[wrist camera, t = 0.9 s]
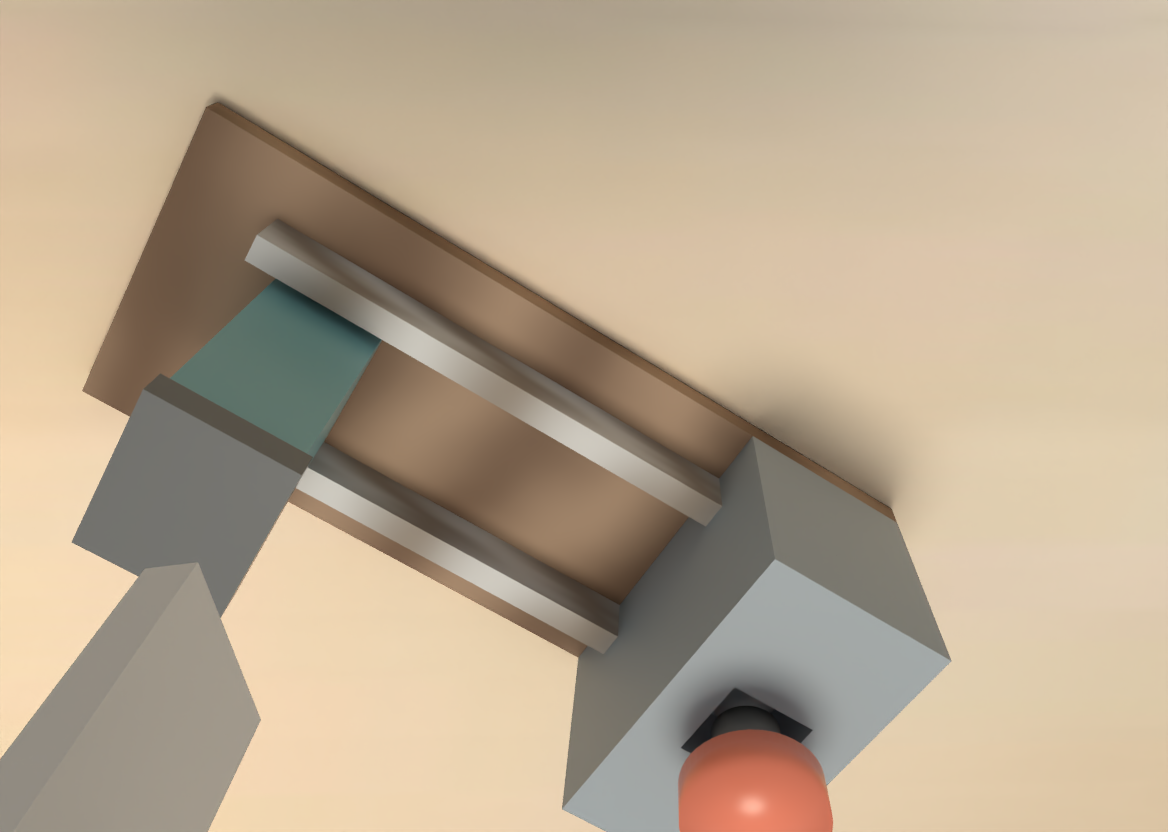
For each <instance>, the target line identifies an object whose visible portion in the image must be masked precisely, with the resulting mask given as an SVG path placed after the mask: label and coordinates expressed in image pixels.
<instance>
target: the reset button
mask: <svg viewBox="0 0 1168 832" xmlns="http://www.w3.org/2000/svg"><path fill="white" fill-rule="evenodd" d="M678 807H679V830H680V832H832V828H833V818H832V812H831V807H830V801H829V796H828V791H827V786H826V781H825V776H824V772H823V769H822V767H821V765H820V763H819V761H818V760H817V758H816V757H815V756H814V754H813V753H812V752H811V751H810V750H809V749H808V748H806V747H805V746H804V745H803V744H801V743H799V742H798V741H796V740H794V739H792V738H790V737H788V736H785V735H783V734H781V733H780V727H779V724H778V722H777V720H776V719H775V717H774V716H773V715H772V714H770V713H769V712H767V711H766V710H764V709H761V708H759V707H754V706H737V707H733V708H730V709H728V710H726V711H724V712H723V713H721V714H720V715H719V716H718V717H717V718H716V719H715V721H714V723H713V725H712V728H711V739H710V740H708V741H706V742H704V743H703V744H701V745H700V746H699V747H697V748H696V749H695V750H694V751H693V752H692V753H691V754H690V755H689V756H688V758H687V759H686V760H685V762H684V764H683V766H682V768H681V771H680V773H679V779H678Z"/></svg>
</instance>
